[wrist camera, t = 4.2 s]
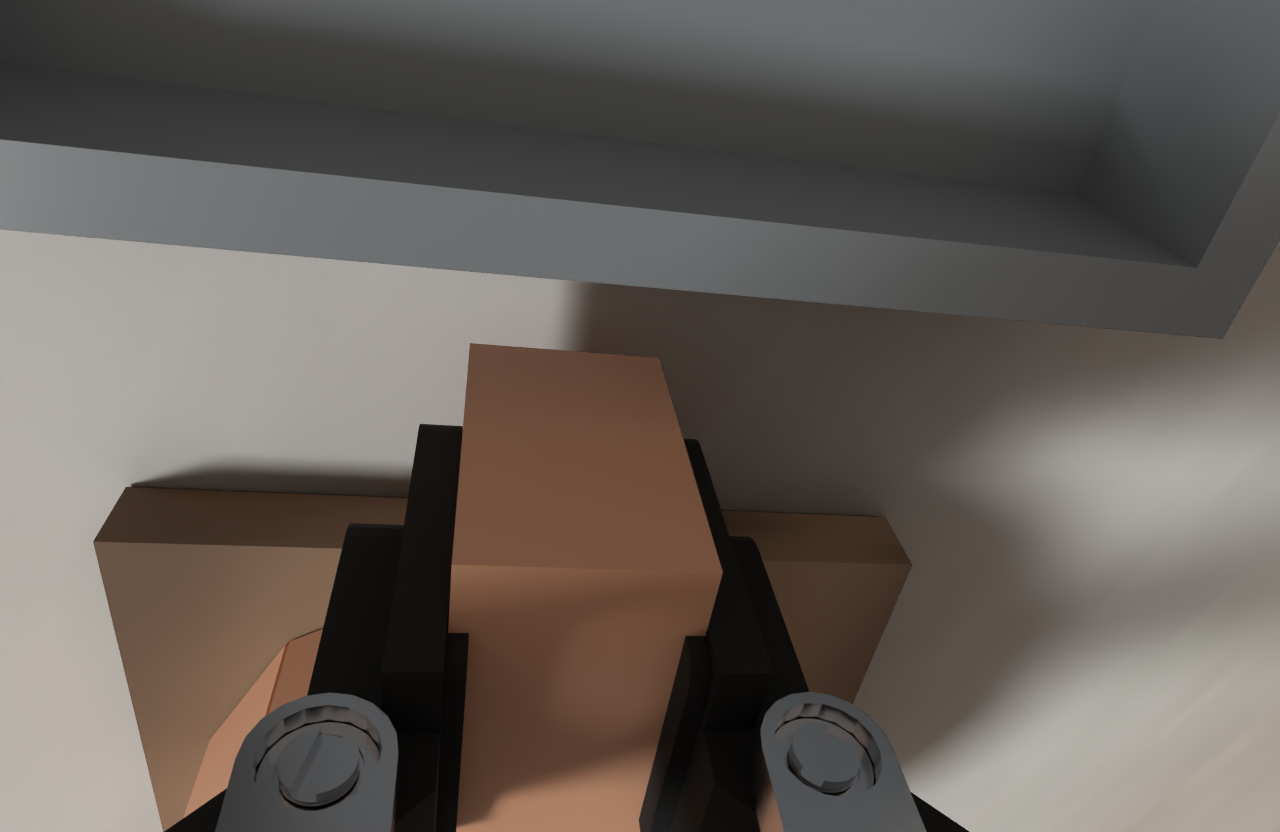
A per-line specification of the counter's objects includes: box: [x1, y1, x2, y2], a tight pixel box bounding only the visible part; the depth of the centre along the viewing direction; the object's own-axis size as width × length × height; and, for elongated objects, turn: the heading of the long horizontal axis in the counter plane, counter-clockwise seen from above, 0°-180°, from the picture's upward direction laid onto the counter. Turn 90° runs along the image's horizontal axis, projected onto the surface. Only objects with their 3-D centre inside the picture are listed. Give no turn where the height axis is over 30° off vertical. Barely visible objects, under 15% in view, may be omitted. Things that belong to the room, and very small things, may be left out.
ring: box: [183, 343, 723, 832], centre depth 13 cm, size 10×14×4 cm
